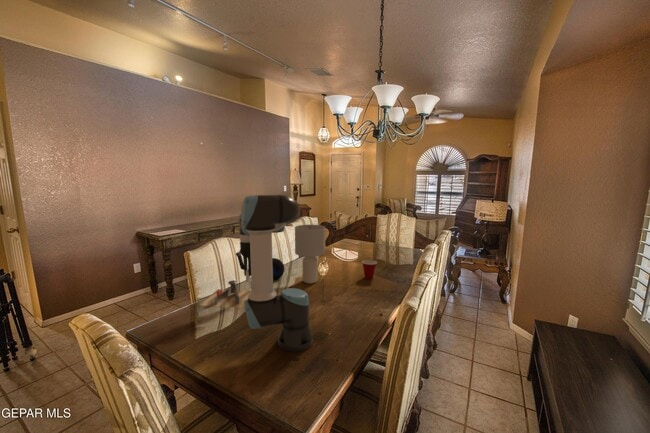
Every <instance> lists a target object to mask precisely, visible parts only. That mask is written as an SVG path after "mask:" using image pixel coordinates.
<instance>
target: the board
mask: <svg viewBox="0 0 650 433" xmlns="http://www.w3.org/2000/svg"><path fill="white" fill-rule="evenodd" d="M218 290H219V289H216V290H215V291H214V292H213V293H212V294H211V295H209V297H207V298H206V299H205V300H203V302H201V303H200V304H199V306H201V307H202V306H205V307H206V306H207V307H219V308H220V307H223V308H239V309H240V308H241V309H245V303H244V302H245V301H246V300H248V295H249V294H250V293H251V292H252V290H239V289H238V290H237V289H236V290H237V292H238V295H239V303H238V304H237V302H236V299H235V296H234V293H231V294H230V295H228V296H227V297H226V298H225V299H223V300H222V301H221V302H220V303H218V304H217V305H215V297H216V296H217V291H218ZM224 290H225V289H222V292H223V291H224ZM230 291H231V289H230Z"/></svg>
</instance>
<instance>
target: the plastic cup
mask: <svg viewBox="0 0 650 433" xmlns="http://www.w3.org/2000/svg"><path fill="white" fill-rule="evenodd" d="M361 263H362V268H363V274H364V278H365V279H366V280H372V279H373V278H374V275H375V271H376V266H377V264H378V262H377V261H376V260H375V261H374V260H362V261H361Z"/></svg>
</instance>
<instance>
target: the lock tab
mask: <svg viewBox="0 0 650 433" xmlns="http://www.w3.org/2000/svg"><path fill="white" fill-rule="evenodd" d="M217 290H218V289H217ZM217 290H216V291H217ZM222 290H223V289H219V290H218V291H217V296H220V295H221V294H222Z"/></svg>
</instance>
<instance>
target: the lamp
mask: <svg viewBox="0 0 650 433" xmlns="http://www.w3.org/2000/svg"><path fill="white" fill-rule="evenodd" d="M294 253H295V255H297V256H300V257H303V258H302V270H301V271H302V281H303V283H305V284H310V285H311V284H314V283H316V282H317V281H318V266H319V264H318V258H317V257H320V256H324V255H325V254H326V226H325V225H320V224H301V225H296V226H294Z"/></svg>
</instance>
